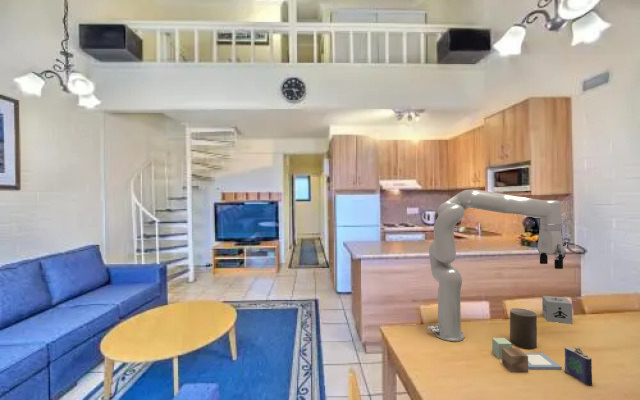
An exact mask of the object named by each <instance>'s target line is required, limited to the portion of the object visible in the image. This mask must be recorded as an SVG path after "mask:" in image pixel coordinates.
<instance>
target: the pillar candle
mask: <svg viewBox="0 0 640 400" xmlns="http://www.w3.org/2000/svg"><path fill="white" fill-rule="evenodd" d="M537 316H538V315H537V313H536V311H535V312H534V311H533V310H530V309H527V308H526V309H524V308H510V310H509V342H510V343H512V346H515V347H516V348H519V349H520V348H521V349H525V350H535V349H537V346H538V345H537V343H538V342H537V341H538V340H537V339H538V330H537V329H538V328H537V327H538V321H537Z"/></svg>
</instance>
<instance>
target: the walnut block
mask: <svg viewBox="0 0 640 400" xmlns="http://www.w3.org/2000/svg"><path fill="white" fill-rule="evenodd" d="M501 363H502V365H503V366H504V368H506V369H507V370H508V371H509V372H510V373H518V374H519V373H520V374H521V373H527V374H528V373H529V369H528V356H527V355H526V354H525V352H523V351H522V350H521V349H520V347H512V348H502V359H501Z"/></svg>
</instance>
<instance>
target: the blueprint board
mask: <svg viewBox="0 0 640 400" xmlns="http://www.w3.org/2000/svg"><path fill="white" fill-rule="evenodd" d="M524 353H525V352H524ZM525 354H526V355H527V356H528V370H545V371H546V370H547V371H548V370H552V371H553V370H555V371H556V370H558V371H559V370H563V369H562V368H563V367H562V365H560V364H558V362H555V360H553V359H552V358H551V357H549V356H548V355H547V354H545V353H544V352H540V353H539V352H526V353H525Z"/></svg>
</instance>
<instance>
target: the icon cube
mask: <svg viewBox="0 0 640 400" xmlns="http://www.w3.org/2000/svg"><path fill="white" fill-rule="evenodd" d="M541 297H542V299H541V300H542V301H541V303H542V305H541V306H542V308H541V309H542V316H543V318H544V319H545V320H546V321H547V322H549V323H556V322H558V323H557V324H565V325H573V303H572V302H571V301H569V300H568V298H566V297H564V296H562V297H561V296H550V295H542V296H541Z"/></svg>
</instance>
